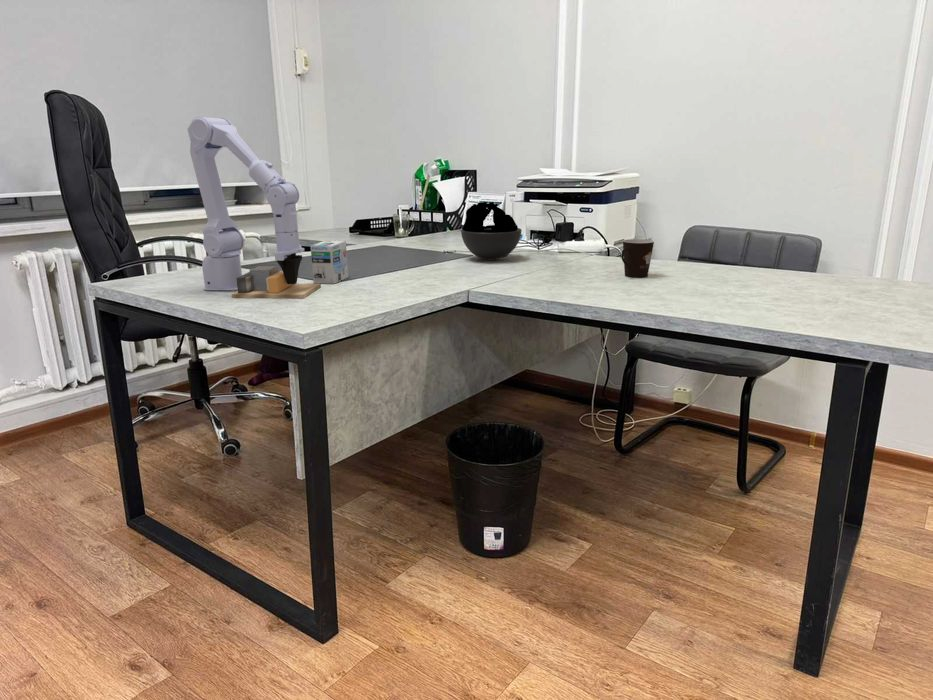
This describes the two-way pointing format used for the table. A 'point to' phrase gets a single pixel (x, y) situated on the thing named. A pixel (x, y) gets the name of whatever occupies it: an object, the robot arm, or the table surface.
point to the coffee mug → (637, 257)
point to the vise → (290, 292)
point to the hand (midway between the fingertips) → (292, 283)
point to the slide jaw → (276, 282)
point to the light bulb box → (329, 262)
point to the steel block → (261, 277)
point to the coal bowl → (489, 232)
